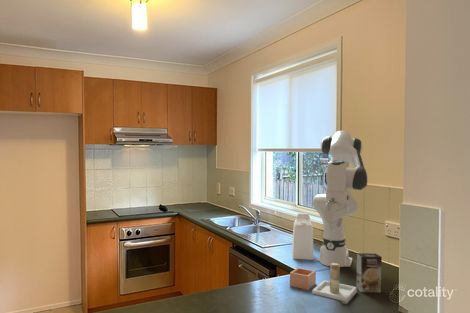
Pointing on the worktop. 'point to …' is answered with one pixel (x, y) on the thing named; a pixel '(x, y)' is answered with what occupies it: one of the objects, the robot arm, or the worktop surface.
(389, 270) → the worktop surface
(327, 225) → the robot arm
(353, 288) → the tray
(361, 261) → the coffee box
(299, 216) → the milk
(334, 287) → the pin
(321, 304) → the worktop surface
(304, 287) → the orange open box
